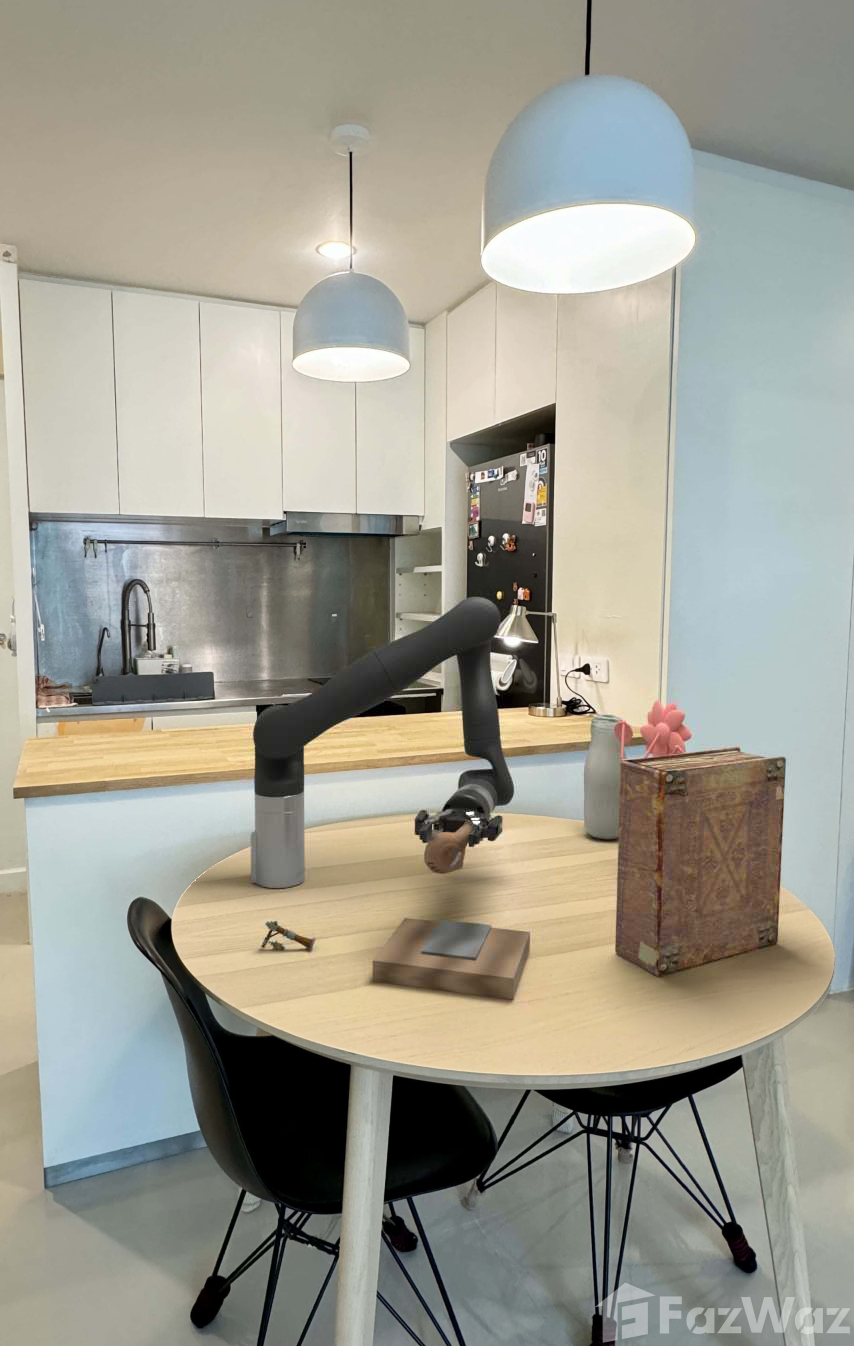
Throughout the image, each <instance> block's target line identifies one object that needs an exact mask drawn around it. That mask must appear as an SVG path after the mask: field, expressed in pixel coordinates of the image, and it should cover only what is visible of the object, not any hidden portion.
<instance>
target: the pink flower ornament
mask: <svg viewBox="0 0 854 1346" xmlns="http://www.w3.org/2000/svg"><path fill="white" fill-rule="evenodd" d="M685 718H686V715H685V712H684V711H683V710H680V709H678V708H677V704H676V702H675V701H674V702H673V701H672V702H671V703H668V704H667V705H666V706H665V707H663V704H662V701H660V700H659V699H655V701H654V702H653V705H652V708H651V710H649V711H648V712H647V724H645V725H642V726H641V727H640V729H639V734H640V736H641V737H642V738H643V739H644V741H646V747H645V750H646V753H645V754H644V756H643V757H642V758H648V757H649V755H650V754H651V755H652V757H657V756H665V755H673V754H682V753H687V752H686V744H685V742H687V741H689V740H690V739H691V738H692V732H691V731H690V729H689V727H687V725H685V724H684V723H683V722H684V720H685ZM614 731H615V735H616V737H617V738H618V739H619V741H620V742H621V761H623V760H630V758H629V759H628V758H627V759H623V754H624V751H625V744H626V743H629V742H630V741H631V740H632V738H633V736H634V731H633V729H632V726H631V725H630V724H629V723H628V722H627V721H626V720H625V719H622V721H620V722H618V723H617V724H616V725H615V728H614Z"/></svg>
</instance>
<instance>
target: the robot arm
mask: <svg viewBox="0 0 854 1346" xmlns="http://www.w3.org/2000/svg"><path fill="white" fill-rule="evenodd" d="M500 614H501V613H500V610H499V609H498V607H497V605H496V604H495V603H494V602H493V601H491V600H490V599H487V598H486V597H479V596H470V597H468V598H465V599H462V600H461V601H459V602H458V603H457V604H456V605H455V606H454V607H452V608H451V609H449V610H448V611H447V612H445V613H444V614H443V615H441V616H439V617H438V618H437V619H435V620H434V621H432V622H431V623H429V624H428V625H425V626H424V627H422V628H420V629H418V630H416V631H413V632H412V633H409V634H406V635H404V636H402V637H400V638H397V639H395V640H393V641H391V642H389V643H386V644H384V645H383V646H380V647H379V648H376V649H375V650H373V651H370V652H369V653H367V654H365V655H364V656H362V657H360V658H358V659H356V660H355V661H354V662H352V663H350V664H349V665H348V666H346V667H345V668H343V669H342V670H340V671H339V672H338V673H337V674H335V675H334V676H333V677H332V678H330V679H329V680H328V681H326V682H325V683H324V684H323V685H321V686H320V687H319V688H318V689H317V690H315V691H314V692H312V693H310V694H308V695H306V696H305V697H302V698H300V699H298V700H296V701H294V702H291V703H289V704H288V705H283V704H276V705H271V706H268V707H266V708H265V709H264V710H263V711H262V712H260V713H259V715H258V716H257V718H256V720H255V722H254V726H253V731H252V739H253V740H252V741H253V743H254V778H253V782H254V785H253V786H254V788H253V789H254V790H253V791H254V830H253V832H251V834H250V876H251V877H250V879H251V881H250V882H251V883H252V884H257V885H258V886H260V887H263V888H269V889H284V888H291V887H294V886H298V885H300V884H302V883H303V882H304V881H305V878H306V877H305V876H306V873H305V872H306V866H305V865H306V864H305V863H306V862H305V861H306V860H305V858H306V856H305V854H306V853H305V850H306V848H305V847H306V846H305V844H306V843H305V835H306V834H305V748H304V747H305V746H307V745H308V744H309V743H311V742H312V741H314V740H315V739H317V738H318V737H320V736H321V735H322V734H323V733H325V732H327V731H329V730H330V729H331V728H333V727H335V726H337V725H339V724H341V723H343V722H345V721H347V720H350V719H351V718H354V717H356V716H358V715H360V714H362V713H364V712H366V711H368V710H370V709H372V708H374V707H376V706H378V705H380V704H382V703H384V702H385V701H387V700H390V698H392V697H394V696H395V695H397V694H399V693H401V692H403V691H404V690H406V689H407V688H408V687H410V686H411V685H413V684H415V683H416V682H417V681H418V680H420V679H422V678H423V677H424V676H425V675H426V674H428V673H429V672H430V671H432V670H433V669H434V668H436V667H437V666H439V665H440V664H443V662H446V661H447V660H449V659H451V658H452V657H455V656H456V661H457V667H458V672H459V673H458V674H459V681H460V696H461V697H460V699H461V720H462V734H463V737H462V738H463V746H464V752H465V754H466V755H467V756H468V757H469V756H470V757H473V758H479V759H484V760H486V761H487V762H488V763H489V764H490V766H491V768H484V769H479V768H478V769H468V770H465V771H464V772H462V773H461V774H460V776H459V778H458V782H457V784H458V785H457V790H456V791H455V792H454V793H453V794H452V795H451V796H450V797H449V799H448V800H447V801H446V802H445V804H444V805H443V808H442V809H441V811H439V812H438V811H437V813H435V814H433V815H431V814H430V813H429V812H428V810H425V809H422V810H419V812H418V813H417V814H416V817H415V818H414V835H415V836H419V841H421V843H422V844H428V842H429V839H430V835H431V834H432V833H433V832H436V833H441V832H450V833H455V832H456V831H457V830H459V829H460V828H461V827H462V826H463V824H464V823H465V821H466V820H470V821H472V822H473V823H474V825H475V827H473V828H472V829H471V831H470V832H469V843H468V847H469V848H474V847H475V846H476V845H479V844H480V843H481V842H483V841H484V839H487V841H489V842H494V841H496V840H497V839H498V837H499V836H500V835H501V834H502V833H503V819H504V817H503V816H502V815H499V814H498V815H496V816H494V817H492V815H493V811H494V810H495V808H496V807H502V806H503V807H504V806H507V805H508V804H509V803H510V802H511V801H512V799H513V797H514V795H515V786H514V781H513V778H512V776H511V773H510V770H509V768H508V765H507V762H506V759H505V755H504V752H503V747H502V740H501V728H500V715H499V708H498V703H497V696H496V693H495V688H494V683H493V676H492V669H491V668H492V667H491V651H492V640H493V639H494V638H495V637H496V635H497V634H498V631H499V628H500V625H501V615H500Z"/></svg>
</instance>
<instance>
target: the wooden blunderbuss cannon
mask: <svg viewBox="0 0 854 1346" xmlns="http://www.w3.org/2000/svg"><path fill="white" fill-rule="evenodd" d="M265 926H266V927H267V929H269V931H268V932H267V934H266V936H265V937H264V939H263V941H262V945H261V946H260V947H261V948H263V949H265V947H266V946H267V944H270V946H272V949H273V950H274V949H276V950H278V951H284V950H285V949H286V946H285V945H284V943H280V942H278V940H275V942H274V941H273V940H272V941H270V939H271V938H273V937H275V936H277V935H282V937H283V938H284V937H285V938H286V939H288V940H291V941H292V942H293V941H294V942H296V943H299V944H300V945H302V946H303V947H305V948H306V949H307V952H311V951H312V949H313V946H314V945H315V942H316V940H317V938H316V937H314V936H313V938H309V937H305V936H303V935H302V936H301V935H300V934H299V935H298V934H297V933H296V932H294V931H292V930H291V929H289V928H285V927H282V926H280V925H279V923H278V921H276V920H274V921H272V920H271V921H266V922H265ZM288 929H289V930H288ZM273 932H274V933H273Z"/></svg>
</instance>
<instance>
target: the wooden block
mask: <svg viewBox="0 0 854 1346" xmlns="http://www.w3.org/2000/svg"><path fill="white" fill-rule="evenodd" d="M492 926H493V925H492V924H484V923H477V922H468V921H467V922H466V921H457V920H450V919H440V921H436V920H426V919H419V918H410V917H404V918H403V919H402V921H401V923H399V925H398V927H396V929H395V930H394V931H393V933H392V935H390V937H389V938H388V939H387V941H386V942H385V943H384V945H383V946H382V948H381V949H380V950H379V951H378V953H377V954H376V955H375V957H374V958H373V959H372V982H379V983H386V984H392V985H393V984H394V985H400V986H408V987H417V988H424V989H431V990H438V991H446V992H453V993H461V994H467V995H469V994H470V995H477V996H483V997H490V998H498V999H505V1000H512V1001H513V1000H514V999H515V995H516V993H517V990H518V987H519V984H520V981H521V979H522V978H521V977H522V974H523V972H524V969H525V967H526V963H527V960H528V958H529V954H530V950H531V949H530V948H531V947H530V946H531V932H530V931H526V930H525V931H524V930H516V929H509V928H508V929H506V928H499V927H492Z"/></svg>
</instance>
